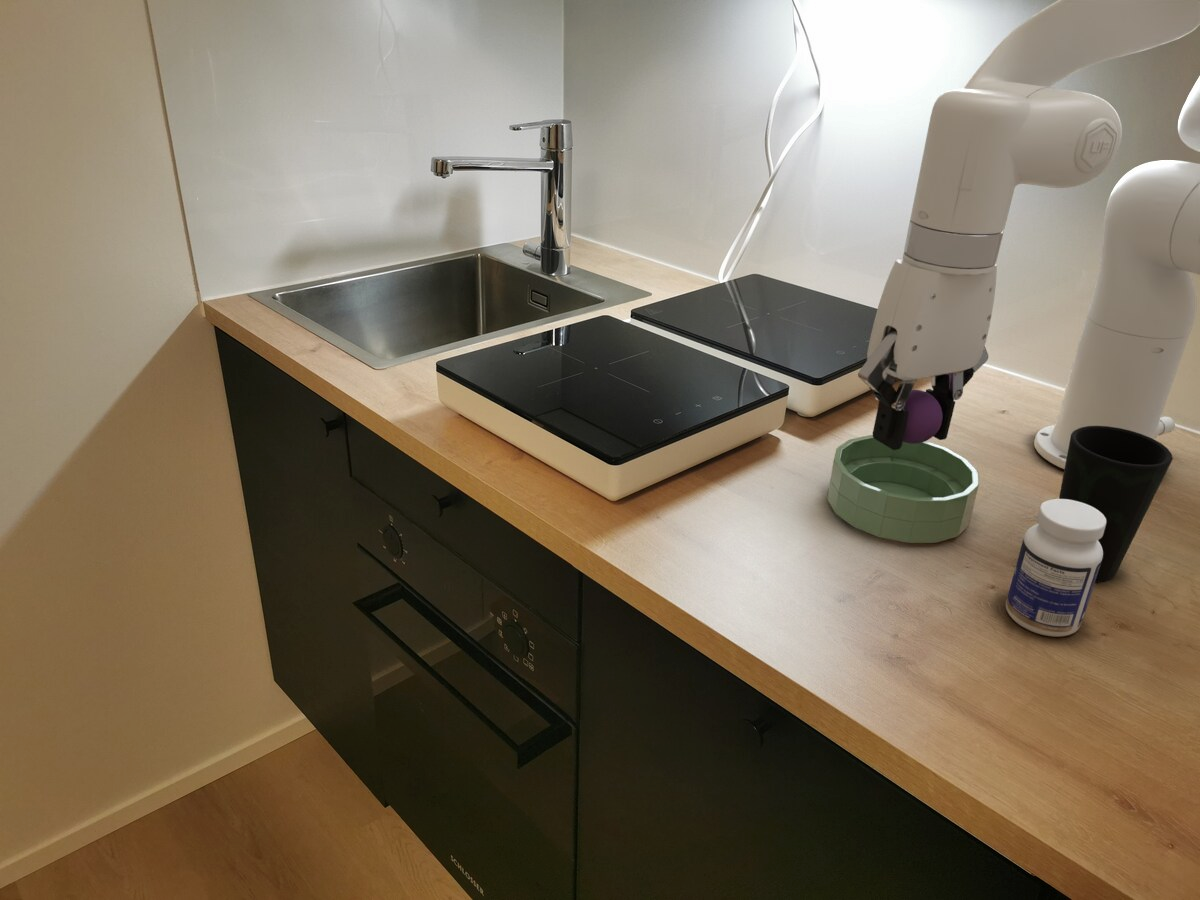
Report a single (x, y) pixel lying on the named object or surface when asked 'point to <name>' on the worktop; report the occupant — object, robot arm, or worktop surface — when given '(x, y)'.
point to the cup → (1114, 483)
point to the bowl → (903, 490)
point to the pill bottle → (1057, 568)
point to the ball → (922, 417)
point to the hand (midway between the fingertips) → (909, 436)
